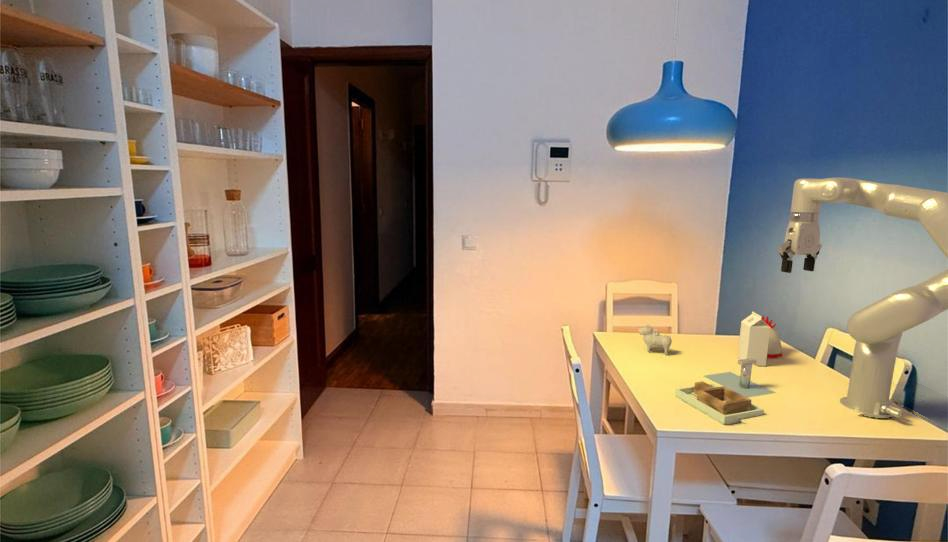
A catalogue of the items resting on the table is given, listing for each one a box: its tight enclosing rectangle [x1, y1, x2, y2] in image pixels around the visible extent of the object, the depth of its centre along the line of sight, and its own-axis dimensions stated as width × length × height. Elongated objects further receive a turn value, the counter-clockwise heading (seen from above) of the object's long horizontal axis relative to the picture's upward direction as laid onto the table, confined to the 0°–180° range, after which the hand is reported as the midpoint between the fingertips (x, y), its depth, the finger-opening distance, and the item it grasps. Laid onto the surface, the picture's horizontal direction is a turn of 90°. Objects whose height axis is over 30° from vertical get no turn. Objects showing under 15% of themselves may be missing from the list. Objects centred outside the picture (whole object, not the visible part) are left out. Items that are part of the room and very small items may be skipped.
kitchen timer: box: [761, 315, 783, 359], centre depth 192 cm, size 14×14×15 cm
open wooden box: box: [693, 380, 752, 415], centre depth 145 cm, size 15×10×4 cm, turn 18°
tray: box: [675, 383, 765, 426], centre depth 145 cm, size 19×14×2 cm
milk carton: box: [737, 311, 770, 367], centre depth 179 cm, size 7×7×19 cm
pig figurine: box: [637, 324, 673, 356], centre depth 192 cm, size 5×13×11 cm, turn 61°
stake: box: [737, 358, 756, 389], centre depth 156 cm, size 3×6×9 cm, turn 108°
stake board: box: [703, 371, 777, 398], centre depth 159 cm, size 18×12×1 cm, turn 18°
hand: (797, 271), depth 156 cm, fingers open, 9 cm apart
